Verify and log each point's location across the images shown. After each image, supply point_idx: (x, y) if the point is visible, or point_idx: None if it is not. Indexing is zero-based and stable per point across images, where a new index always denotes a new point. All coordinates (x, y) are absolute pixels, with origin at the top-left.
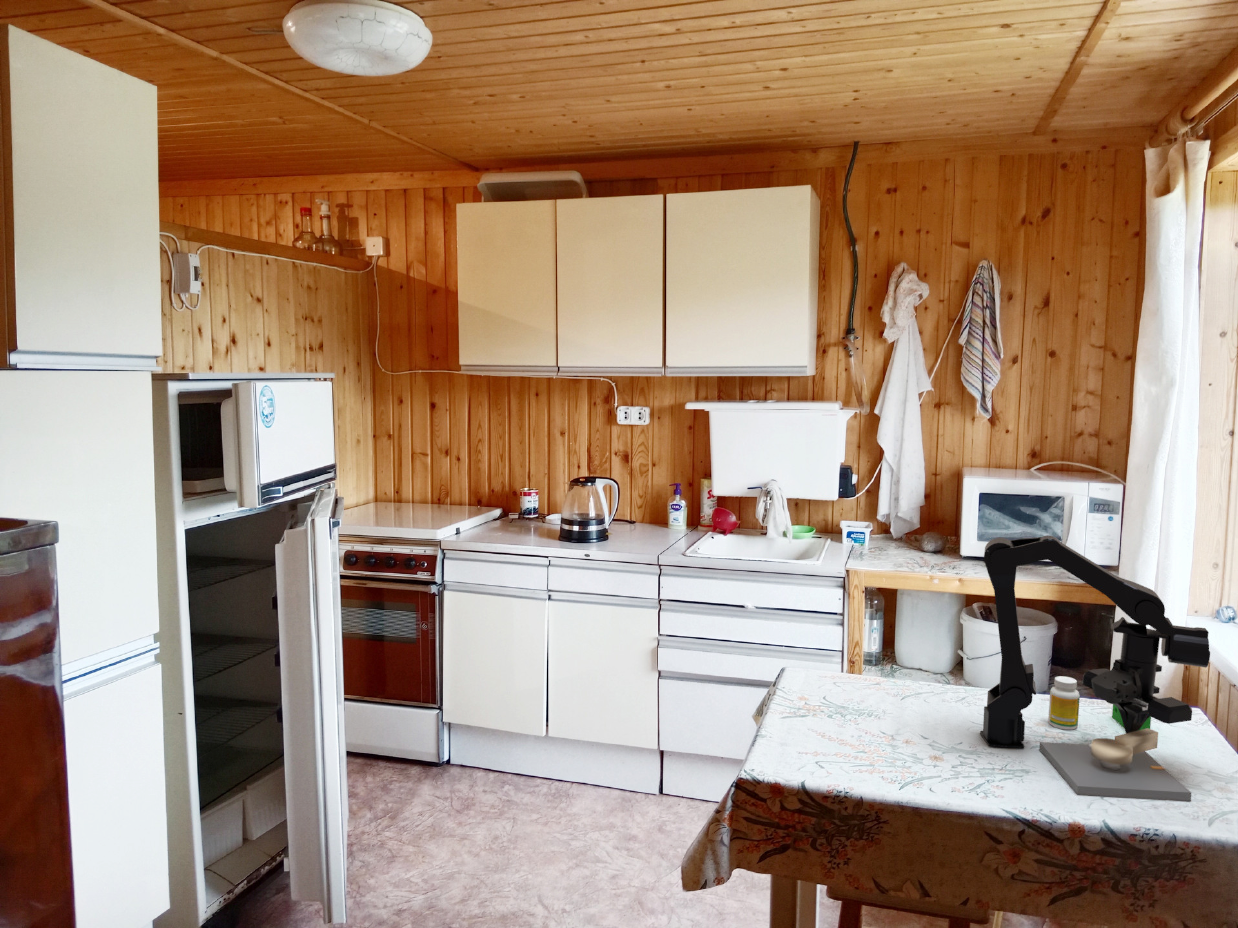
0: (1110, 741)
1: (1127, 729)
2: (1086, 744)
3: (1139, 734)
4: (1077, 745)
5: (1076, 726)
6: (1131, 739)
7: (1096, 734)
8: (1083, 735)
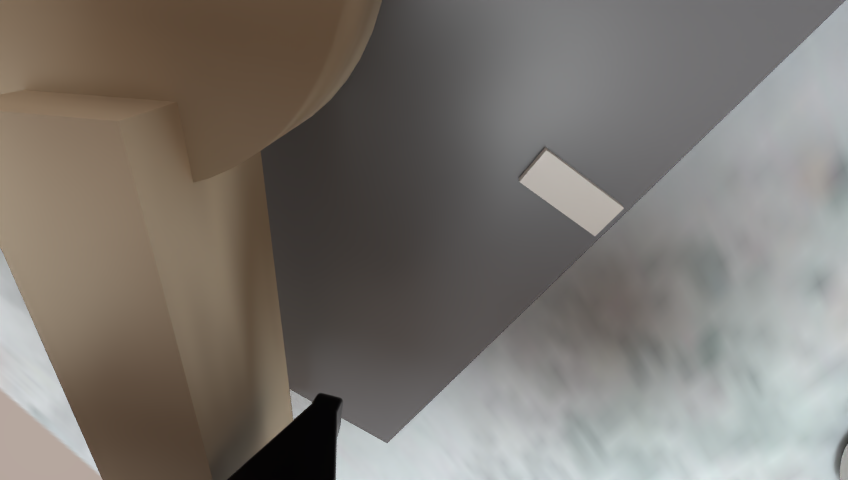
0: (201, 55)
1: (289, 464)
2: (635, 201)
3: (128, 433)
4: (686, 102)
5: (845, 468)
6: (11, 243)
7: (697, 464)
8: (755, 404)
